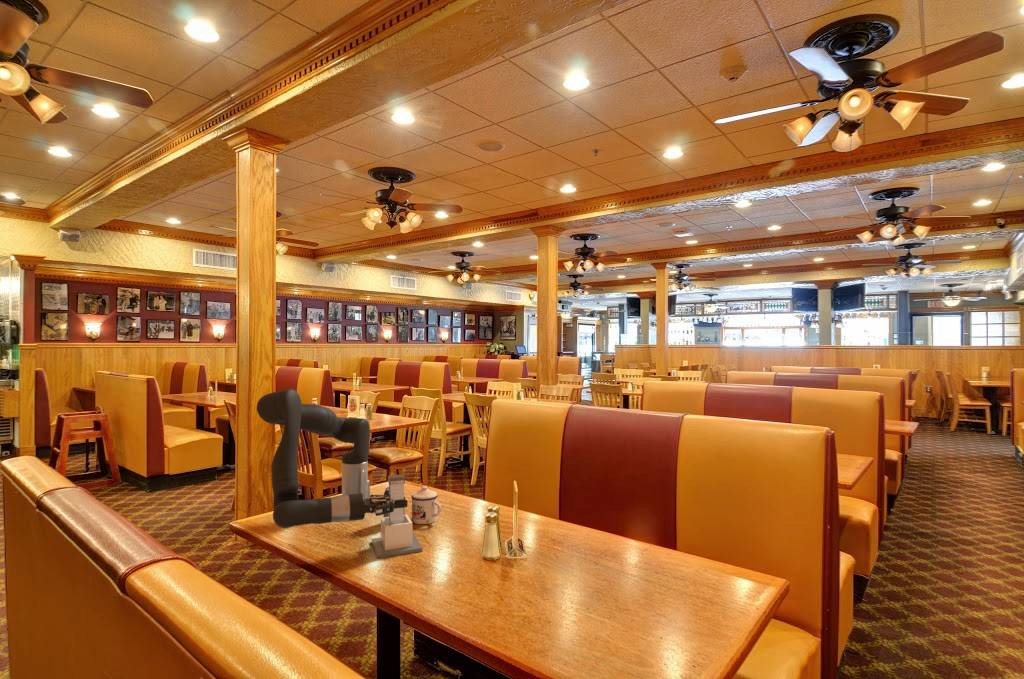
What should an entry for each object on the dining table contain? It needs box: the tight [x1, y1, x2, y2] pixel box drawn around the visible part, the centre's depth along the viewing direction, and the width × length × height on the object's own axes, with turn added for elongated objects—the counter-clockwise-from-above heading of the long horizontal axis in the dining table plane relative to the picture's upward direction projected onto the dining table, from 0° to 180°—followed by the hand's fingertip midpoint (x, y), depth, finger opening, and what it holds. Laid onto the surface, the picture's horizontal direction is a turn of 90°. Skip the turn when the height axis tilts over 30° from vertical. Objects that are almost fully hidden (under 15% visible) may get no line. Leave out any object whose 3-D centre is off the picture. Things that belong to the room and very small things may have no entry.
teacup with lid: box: [410, 485, 442, 525], centre depth 187 cm, size 12×9×12 cm
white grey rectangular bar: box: [387, 474, 406, 525], centre depth 165 cm, size 3×4×18 cm, turn 112°
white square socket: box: [371, 514, 423, 559], centre depth 165 cm, size 13×13×8 cm
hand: (405, 501), depth 166 cm, fingers closed on white grey rectangular bar, 3 cm apart
